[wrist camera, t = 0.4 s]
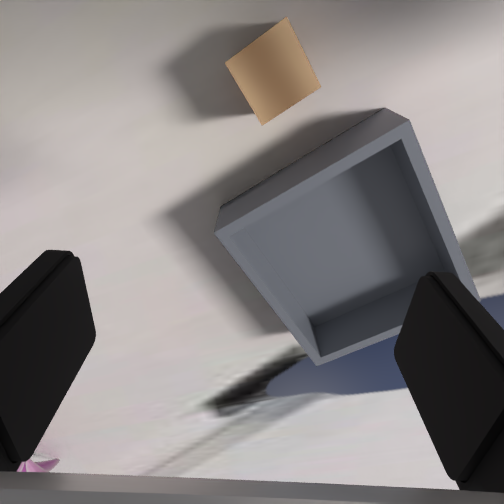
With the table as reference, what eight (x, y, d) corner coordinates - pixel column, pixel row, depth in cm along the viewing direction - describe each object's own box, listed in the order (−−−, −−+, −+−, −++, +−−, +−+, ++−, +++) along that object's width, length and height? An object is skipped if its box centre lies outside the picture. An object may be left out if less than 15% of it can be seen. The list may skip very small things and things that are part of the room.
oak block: (282, 21, 28) (286, 16, 23) (311, 79, 30) (321, 86, 25) (231, 59, 30) (224, 62, 25) (262, 112, 32) (262, 125, 27)
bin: (385, 107, 31) (409, 119, 26) (452, 267, 40) (480, 301, 34) (220, 206, 36) (213, 233, 31) (310, 329, 45) (316, 366, 40)
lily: (-11, 426, 59) (-38, 494, 55) (1, 426, 51) (-29, 506, 47) (63, 432, 66) (45, 493, 61) (83, 432, 58) (65, 503, 53)
